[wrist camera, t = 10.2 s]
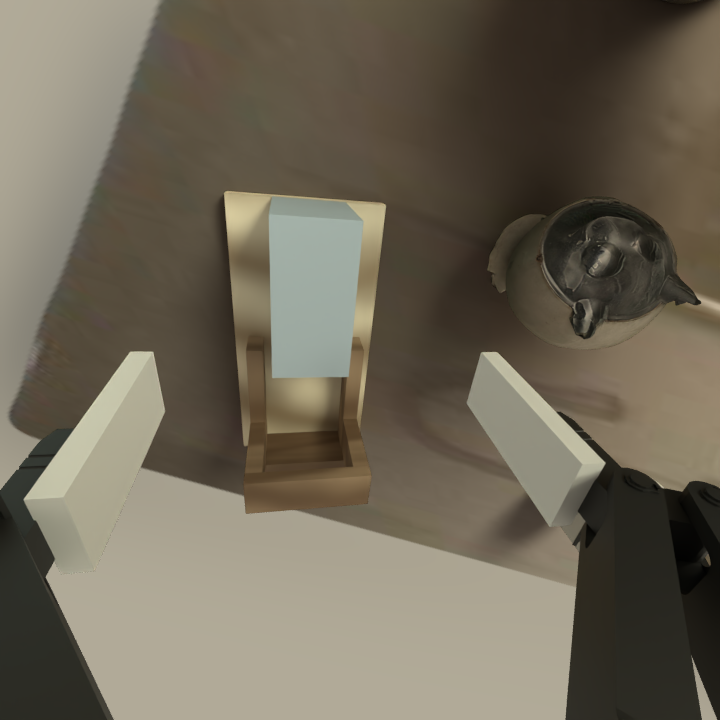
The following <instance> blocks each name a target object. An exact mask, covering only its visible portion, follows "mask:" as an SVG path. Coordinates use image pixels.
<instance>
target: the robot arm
mask: <svg viewBox="0 0 720 720" xmlns="http://www.w3.org/2000/svg"><path fill="white" fill-rule="evenodd" d="M662 1H666V2H670V3H682V4H683V3H693V2H698V1H702V0H662ZM467 405H468V406H469V408H470V409H471V411H472V412H473V414H474V415H475V417H476V418H477V420H478V421H479V423H480V424H481V426H482V427H483V429H484V430H485V432H486V433H487V435H488V436H489V437H490V439H491V440H492V442H493V443H494V445H495V446H496V448H497V449H498V451H499V452H500V454H501V455H502V457H503V458H504V460H505V461H506V463H507V464H508V466H509V467H510V469H511V470H512V472H513V473H514V475H515V476H516V478H517V479H518V481H519V482H520V484H521V485H522V486H523V488H524V489H525V491H526V492H527V494H528V495H529V497H530V498H531V500H532V501H533V503H534V504H535V506H536V507H537V509H538V510H539V512H540V513H541V515H542V516H543V518H544V519H545V521H546V522H547V524H548V525H549V527H556V526H566V525H571V524H572V522H573V520H574V518H575V517H576V515H577V513H578V512H579V514H580V515H581V516H582V518H583V519H584V520H585V523H584V525H583V526H582V528H581V530H580V531H579V533H578V535H577V536H576V538H575V540H574V542H573V544H572V545H574V546H577V544H578V542H580V550H579V563H578V575H577V587H576V599H575V612H574V625H573V635H572V647H571V660H570V671H569V684H568V695H567V707H566V720H702V718H701V712H700V705H699V699H698V694H697V688H696V682H695V675H694V670H693V663H692V658H693V660H694V663H695V665H696V668H697V670H698V673H699V675H700V678H701V680H702V682H703V685H704V688H705V690H706V692H707V695H708V697H709V700H710V702H711V705H712V707H713V710H714V712H715V715H716V717H717V720H720V488H719V487H717V486H714V485H711V484H708V483H705V482H701V481H692V482H689V484H688V485H687V486H686V488H685V489H684V490H683V492H681V491H675V490H670V489H665V488H661V487H660V486H659V484H658V483H657V482H656V481H655V480H653V479H652V478H650V477H649V476H647V475H646V474H644V473H642V472H639V471H637V470H634V469H630V468H621V467H620V466H619V465H618V464H617V463H616V462H615V461H614V460H613V459H612V458H611V457H610V456H609V455H608V454H607V453H606V452H605V451H604V450H603V449H602V448H601V447H600V446H599V445H598V444H597V443H596V442H595V441H594V440H592V439H591V437H590V436H589V435H588V434H587V433H586V432H584V431H583V429H582V428H581V427H580V426H579V425H578V424H577V423H576V422H575V421H574V420H572V419H571V418H569V417H568V416H566V415H564V414H563V413H561V412H555V411H554V410H553V409H552V408H551V407H550V406H549V405H548V403H547V402H546V401H545V400H544V399H543V398H542V397H541V396H540V395H539V394H538V393H537V392H536V391H535V390H534V389H533V388H532V387H531V386H530V385H529V384H528V383H527V382H526V381H525V380H524V379H523V378H522V377H521V376H520V375H519V374H518V373H517V372H516V371H515V370H514V369H513V368H512V367H511V366H510V365H509V364H508V362H507V361H506V360H505V359H504V358H503V357H502V356H501V355H500V354H499V353H498V352H481V355H480V358H479V362H478V365H477V369H476V372H475V376H474V379H473V383H472V386H471V390H470V393H469V397H468V400H467ZM164 413H165V408H164V403H163V398H162V393H161V388H160V383H159V378H158V373H157V368H156V364H155V359H154V354H153V352H130V353H129V354H128V356H127V357H126V358H125V360H124V361H123V363H122V364H121V365H120V367H119V368H118V369H117V371H116V372H115V374H114V375H113V376H112V378H111V379H110V381H109V382H108V383H107V385H106V386H105V387H104V389H103V390H102V392H101V393H100V394H99V396H98V397H97V399H96V400H95V401H94V403H93V404H92V405H91V407H90V408H89V410H88V411H87V412H86V414H85V415H84V417H83V418H82V419H81V421H80V422H79V423H78V425H77V426H76V428H75V429H57V430H55V431H54V432H53V433H51V434H50V435H48V436H47V437H45V438H44V439H42V440H41V441H40V442H39V443H38V444H37V445H36V447H35V448H34V449H33V451H32V452H31V453H30V454H29V457H28V458H26V459H25V460H24V462H23V463H22V464H21V465H20V466H19V470H16V471H15V473H14V474H13V475H12V476H11V478H10V479H9V480H8V481H7V483H6V484H5V485H4V486H3V488H2V489H1V490H0V720H114V719H113V717H112V715H111V714H110V711H109V709H108V707H107V705H106V703H105V701H104V698H103V697H102V694H101V693H100V690H99V688H98V686H97V684H96V682H95V680H94V677H93V675H92V673H91V671H90V669H89V667H88V665H87V663H86V661H85V659H84V656H83V655H82V652H81V650H80V648H79V646H78V644H77V642H76V640H75V638H74V635H73V633H72V631H71V629H70V627H69V625H68V623H67V621H66V619H65V617H64V615H63V613H62V610H61V608H60V606H59V604H58V602H57V600H56V598H55V596H54V594H53V591H52V589H51V587H50V585H49V583H48V581H47V579H46V578H45V577H46V575H47V573H48V571H49V569H50V568H51V566H52V564H53V562H54V561H55V563H56V565H57V567H58V569H59V571H60V573H61V574H70V573H81V572H92V571H95V570H96V567H97V565H98V563H99V561H100V558H101V556H102V554H103V551H104V549H105V547H106V545H107V542H108V540H109V538H110V536H111V533H112V531H113V529H114V527H115V524H116V522H117V520H118V518H119V515H120V513H121V511H122V508H123V506H124V503H125V502H126V499H127V497H128V495H129V492H130V490H131V488H132V485H133V483H134V481H135V479H136V477H137V474H138V472H139V470H140V467H141V465H142V463H143V461H144V458H145V456H146V454H147V452H148V449H149V447H150V445H151V442H152V440H153V438H154V436H155V433H156V431H157V429H158V427H159V424H160V422H161V420H162V417H163V415H164ZM707 554H709V556H710V561H711V565H710V566H709V564H708V562H707V561H706V559H705V557H706V555H707ZM691 655H692V657H691Z"/></svg>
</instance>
